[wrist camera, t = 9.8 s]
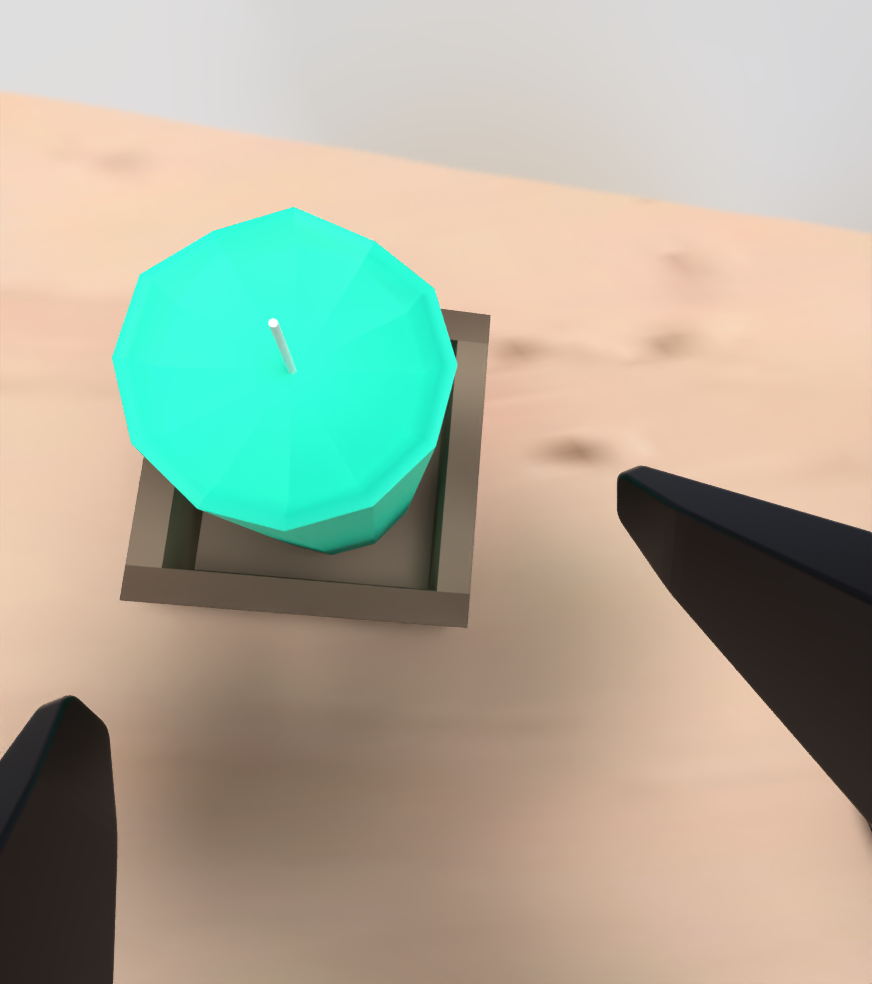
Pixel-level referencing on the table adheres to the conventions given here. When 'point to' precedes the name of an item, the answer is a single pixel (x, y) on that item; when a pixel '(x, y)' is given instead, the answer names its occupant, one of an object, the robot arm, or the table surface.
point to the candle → (287, 379)
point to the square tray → (340, 577)
